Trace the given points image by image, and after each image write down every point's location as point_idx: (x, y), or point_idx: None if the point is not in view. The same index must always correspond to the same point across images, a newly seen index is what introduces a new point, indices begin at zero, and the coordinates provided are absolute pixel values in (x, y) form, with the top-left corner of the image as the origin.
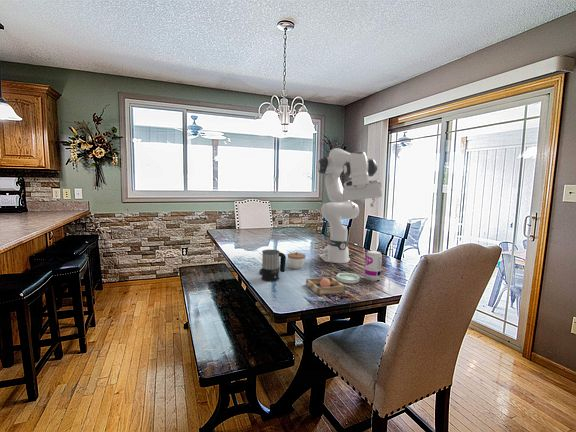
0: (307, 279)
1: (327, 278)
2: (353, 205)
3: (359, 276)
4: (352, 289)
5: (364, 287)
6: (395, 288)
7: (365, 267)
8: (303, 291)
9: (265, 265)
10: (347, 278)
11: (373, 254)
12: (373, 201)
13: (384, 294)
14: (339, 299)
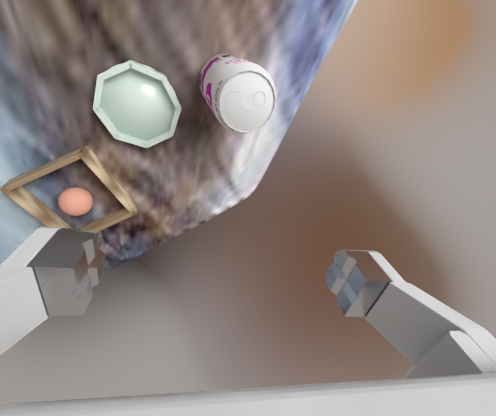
0: (6, 193)
1: (70, 162)
2: (51, 313)
3: (179, 104)
4: (156, 184)
5: (188, 163)
6: (264, 153)
7: (204, 89)
8: (27, 225)
9: None
10: (138, 108)
11: (237, 130)
12: (401, 346)
13: (227, 195)
14: (128, 241)
